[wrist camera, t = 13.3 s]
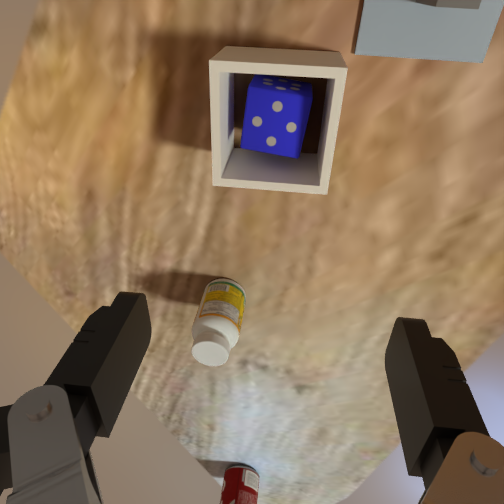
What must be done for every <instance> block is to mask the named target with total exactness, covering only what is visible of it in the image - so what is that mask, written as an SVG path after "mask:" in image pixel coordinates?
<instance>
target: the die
mask: <svg viewBox="0 0 504 504" xmlns="http://www.w3.org/2000/svg"><path fill="white" fill-rule="evenodd" d="M312 100H313V94H312V84H311V83H308V82H302V81H297V80H291V79H286V78H280V77H275V76H269V75H264V74H255V75H254V77H253V79H252V81H251V83H250V85H249V86H248V92H247V99H246V107H245V114H244V122H243V130H242V137H241V145H240V147H241V148H242V149H247V150H253V151H258V152H264V153H269V154H274V155H280V156H285V157H291V158H296V159H298V158H299V157H300V152H301V148H302V144H303V139H304V135H305V131H306V126H307V122H308V118H309V113H310V109H311V105H312Z"/></svg>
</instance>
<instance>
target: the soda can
mask: <svg viewBox="0 0 504 504" xmlns="http://www.w3.org/2000/svg"><path fill="white" fill-rule="evenodd" d="M258 486H259V474H258V473H257V472H256V471H255V470H253V469H252V468H251V467H248V466H245V465H234V466H232V467H229V468H227V469H226V471H225V475H224V481H223V487H222V493H221V499H220V504H257V497H258Z"/></svg>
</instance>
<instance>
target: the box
mask: <svg viewBox="0 0 504 504" xmlns="http://www.w3.org/2000/svg"><path fill="white" fill-rule="evenodd" d="M347 69H348V68H347V66H346V63H345V61H344V59H343V57H342V55H341V53H340V52H332V51H313V50H294V49H275V48H256V47H237V46H225V47H224V48H223V49H222V50H221V51H219V52H218V53H217V54H216V55H215V56H213V57H212V58H211V59H210V60H209V78H210V111H211V144H212V177H213V186H225V187H238V188H250V189H263V190H275V191H288V192H300V193H313V194H325V195H327V192H328V185H329V179H330V173H331V167H332V161H333V155H334V149H335V143H336V136H337V130H338V124H339V118H340V112H341V106H342V100H343V94H344V87H345V81H346V75H347ZM234 73H247V74H264V75H281V76H298V77H316V78H328V79H327V86H326V94H325V101H324V108H323V116H322V123H321V130H320V137H319V145H318V152H317V154H312V153H300V157H299V158H298V159H296V158H291V157H285V156H280V155H274V154H269V153H264V152H258V151H253V150H247V149H242V148H234Z"/></svg>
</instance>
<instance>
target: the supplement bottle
mask: <svg viewBox="0 0 504 504" xmlns="http://www.w3.org/2000/svg"><path fill="white" fill-rule="evenodd" d="M245 301H246V295H245V291H244V289H243V288H242V287H241V286H240V285H239V284H238V283H236V282H235V281H232V280H229V279H216V280H213V281H211V282H210V283H209V284H208V285H207V286H206V288H205V290H204V293H203V296H202V299H201V302H200V305H199V308H198V311H197V314H196V317H195V320H194V323H193V326H192V336H193V339H194V342H193V346H192V355H193V357H194V358H195V359H196V360H197V361H198V362H200V363H202V364H204V365H208V366H219V365H222V364H224V363H225V362H226V361H227V360H228V357H229V353H230V349H231V348H233V347H234V346H235V345H236V343H237V341H238V338H239V333H240V328H241V323H242V317H243V312H244V307H245Z"/></svg>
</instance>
